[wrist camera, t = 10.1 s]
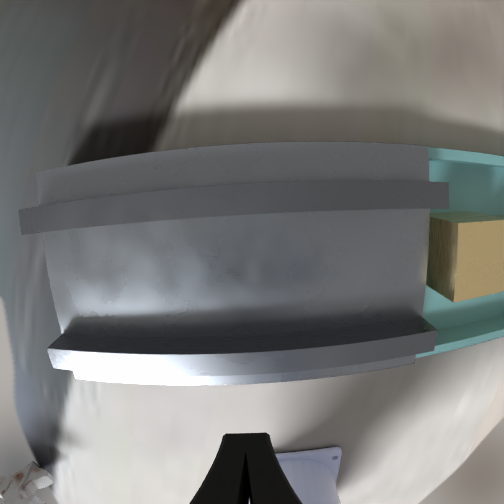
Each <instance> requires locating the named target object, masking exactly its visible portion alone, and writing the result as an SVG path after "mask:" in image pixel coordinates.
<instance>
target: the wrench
mask: <svg viewBox="0 0 504 504" xmlns="http://www.w3.org/2000/svg"><path fill="white" fill-rule="evenodd" d="M53 481H54V480H53V477H52V476H51V474H49V473H48V472H47V471H46V470H45V469H43V468H39V466H38V465H37V464H36V463H35V462H34V461H32V462H31V463H30V464H29V465H28V466H27V467H25V468H24V469H22V470H21V471H19V472H17V473H15V474H13V475H10V476H0V498H3V501H4V504H46V503H44V502H43V501H42V500H41V499H40V498H38V497H37V496H36V495H34V494H35V491H36V490H37V489H38V488H44V487H47V486H49V485H51V484H53Z"/></svg>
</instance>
